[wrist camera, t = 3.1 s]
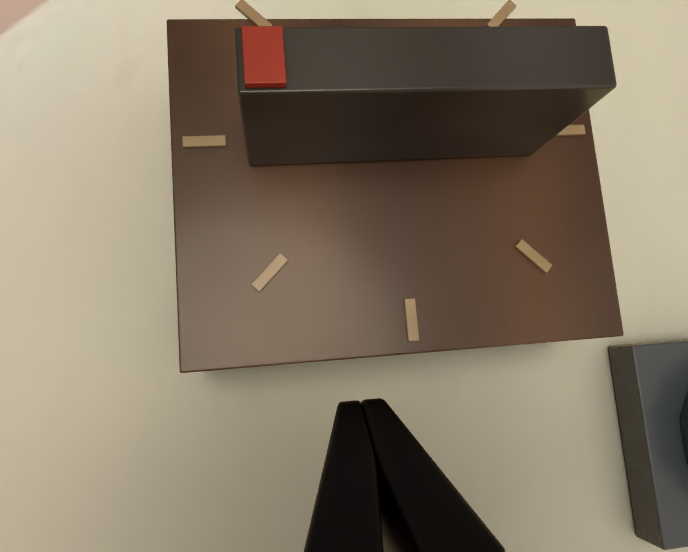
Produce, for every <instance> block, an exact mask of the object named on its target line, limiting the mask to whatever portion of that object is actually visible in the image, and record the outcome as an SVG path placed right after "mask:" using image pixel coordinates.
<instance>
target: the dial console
mask: <svg viewBox="0 0 688 552" xmlns="http://www.w3.org/2000/svg"><path fill="white" fill-rule="evenodd" d="M235 8H236V9H237V10H238V11H239V12H241V13H242V14H243V15H244V16H245V17H246V18H248V19H182V20H167V45H168V71H169V98H170V124H171V150H172V177H173V203H174V230H175V256H176V283H177V309H178V336H179V362H180V373H187V372H199V371H211V370H223V369H235V368H247V367H258V366H270V365H282V364H294V363H306V362H318V361H330V360H342V359H354V358H366V357H378V356H390V355H402V354H413V353H425V352H437V351H449V350H461V349H473V348H485V347H497V346H509V345H521V344H533V343H545V342H557V341H568V340H580V339H592V338H604V337H616V336H623V328H622V321H621V315H620V308H619V302H618V295H617V289H616V283H615V276H614V270H613V263H612V257H611V250H610V244H609V237H608V231H607V224H606V218H605V211H604V205H603V198H602V192H601V185H600V179H599V172H598V166H597V159H596V153H595V146H594V140H593V133H592V127H591V120H590V114H589V109H588V110H587V111H586V112H584V113H583V114H582V115H581V116H579V117H578V118H577V119H576V120H575V121H573V122H572V123H571V124H570V125H568V126H567V127H566V128H565V129H563V130H562V131H561V132H560V133H558V134H557V135H556V136H555V137H553V138H552V139H551V140H550V141H548V142H547V143H546V144H545V145H544V146H542V147H541V148H540V149H539V150H537V151H536V152H535V153H534V154H532V155H521V156H494V157H467V158H439V159H412V160H385V161H357V162H330V163H303V164H276V165H249V163H248V156H247V150H246V144H245V138H244V131H243V125H242V119H241V113H240V106H239V100H238V94H237V79H236V61H235V44H234V30H235V28H241V27H242V26H282V27H501V26H576V23H575V19H506V18H507V17H508V16H509V14H510V13H511V12H512V11H513V10H514V9H515V8H516V5H515V4H514V3H513V2H512V1H511V0H509V1H508V2H507V3H506V4H505V5H504V6H503V7H502V8H501V9H500V10H499V12H498V13H497V14H496V15H495V16H494V17H493V18H492V19H265V18H264V17H262V16H261V15H260V14H259V13H258V12H257V11H255V10H254V9H253V8H252V7H251V6H250V5H248V4H247V3H246V2H245V1H244V0H240V1H239V2H238V3H237V4H236V5H235Z"/></svg>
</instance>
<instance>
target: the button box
mask: <svg viewBox="0 0 688 552" xmlns="http://www.w3.org/2000/svg"><path fill="white" fill-rule="evenodd" d="M608 349H609V356H610V362H611V369H612V376H613V382H614V389H615V396H616V402H617V409H618V416H619V422H620V429H621V436H622V442H623V449H624V456H625V463H626V469H627V476H628V483H629V489H630V496H631V503H632V509H633V516H634V523H635V529H636V535H637V537H639V538H641V539H643V540H645V541H647V542H649V543H651V544H653V545H655V546H657V547H659V548H661V549H663V550H667V549H674V548H681V547H688V339H685V340H673V341H662V342H650V343H638V344H627V345H615V346H609V347H608Z"/></svg>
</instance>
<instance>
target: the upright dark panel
mask: <svg viewBox="0 0 688 552" xmlns="http://www.w3.org/2000/svg"><path fill="white" fill-rule="evenodd" d="M234 44H235V61H236V79H237V94H238V100H239V106H240V113H241V119H242V125H243V131H244V138H245V144H246V150H247V156H248V163H249V165H276V164H303V163H330V162H357V161H385V160H412V159H439V158H467V157H494V156H521V155H532V154H534V153H535V152H536V151H537V150H539V149H540V148H541V147H542V146H544V145H545V144H546V143H547V142H548V141H550V140H551V139H552V138H553V137H555V136H556V135H557V134H558V133H560V132H561V131H562V130H563V129H565V128H566V127H567V126H568V125H570V124H571V123H572V122H573V121H575V120H576V119H577V118H578V117H579V116H581V115H582V114H583V113H584V112H586V111H587V110H588V109H589V108H591V107H592V106H593V105H594V104H596V103H597V102H598V101H599V100H601V99H602V98H603V97H604V96H605V95H607V94H608V93H609V92H610V91H612V90H613V89H614V88H615V87H616V78H615V72H614V66H613V60H612V53H611V47H610V41H609V35H608V29H607V27H606V26H501V27H282V26H242V27H241V28H235V30H234Z"/></svg>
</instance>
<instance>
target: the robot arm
mask: <svg viewBox="0 0 688 552" xmlns="http://www.w3.org/2000/svg"><path fill="white" fill-rule="evenodd" d="M304 552H505V549H504V548H503V546H502V545H501V544H500V543H499V541H498V540H497V539H496V538H495V536H494V535H493V534H492V533H491V531H490V530H489V529H488V528H487V526H486V525H485V524H484V523H483V521H482V520H481V519H480V518H479V517H478V515H477V514H476V513H475V512H474V510H473V509H472V508H471V507H470V505H469V504H468V503H467V502H466V500H465V499H464V498H463V497H462V495H461V494H460V493H459V492H458V491H457V489H456V488H455V487H454V486H453V484H452V483H451V482H450V481H449V479H448V478H447V477H446V476H445V474H444V473H443V472H442V471H441V469H440V468H439V467H438V466H437V464H436V463H435V462H434V461H433V460H432V458H431V457H430V456H429V455H428V453H427V452H426V451H425V450H424V448H423V447H422V446H421V445H420V443H419V442H418V441H417V440H416V438H415V437H414V436H413V435H412V434H411V432H410V431H409V430H408V429H407V427H406V426H405V425H404V424H403V422H402V421H401V420H400V419H399V417H398V416H397V415H396V414H395V412H394V411H393V410H392V409H391V408H390V406H389V405H388V404H387V403H386V401H385V400H383V399H380V398H378V399H367V400H363V401H362V402H361V403H360V402H359V401H346V402H340V403H339V404H338V407H337V411H336V415H335V419H334V423H333V428H332V432H331V436H330V441H329V445H328V449H327V454H326V458H325V462H324V467H323V471H322V475H321V480H320V484H319V488H318V493H317V497H316V501H315V505H314V510H313V514H312V518H311V523H310V527H309V531H308V536H307V540H306V544H305V549H304Z"/></svg>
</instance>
